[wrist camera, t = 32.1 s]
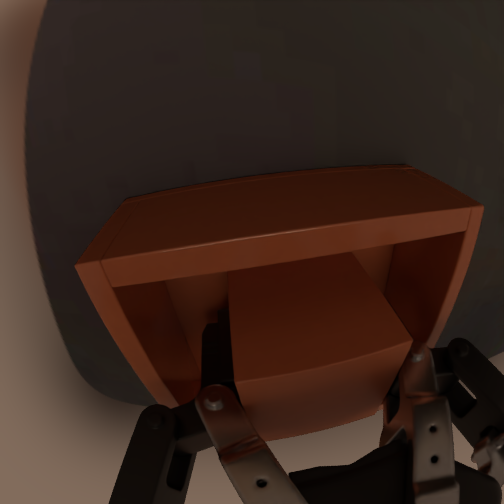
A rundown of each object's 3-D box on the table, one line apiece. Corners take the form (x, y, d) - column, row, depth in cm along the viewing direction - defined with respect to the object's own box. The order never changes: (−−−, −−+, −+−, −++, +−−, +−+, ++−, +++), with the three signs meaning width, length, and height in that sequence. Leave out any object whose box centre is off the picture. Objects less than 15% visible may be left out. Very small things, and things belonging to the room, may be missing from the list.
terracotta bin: (194, 379, 15) (194, 445, 12) (125, 198, 9) (73, 265, 6) (374, 345, 16) (402, 401, 12) (408, 164, 10) (485, 205, 6)
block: (243, 351, 13) (255, 443, 9) (226, 269, 10) (234, 383, 6) (340, 332, 13) (375, 414, 9) (350, 249, 11) (414, 340, 6)
